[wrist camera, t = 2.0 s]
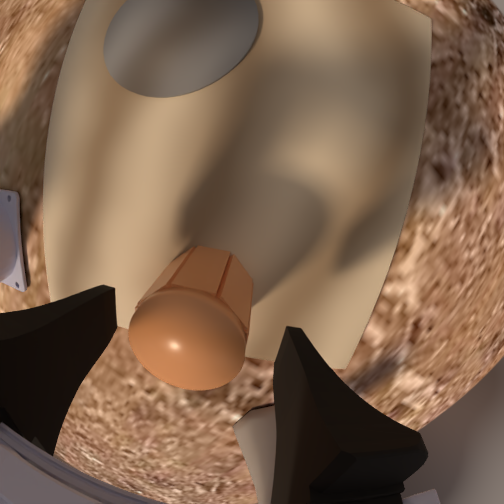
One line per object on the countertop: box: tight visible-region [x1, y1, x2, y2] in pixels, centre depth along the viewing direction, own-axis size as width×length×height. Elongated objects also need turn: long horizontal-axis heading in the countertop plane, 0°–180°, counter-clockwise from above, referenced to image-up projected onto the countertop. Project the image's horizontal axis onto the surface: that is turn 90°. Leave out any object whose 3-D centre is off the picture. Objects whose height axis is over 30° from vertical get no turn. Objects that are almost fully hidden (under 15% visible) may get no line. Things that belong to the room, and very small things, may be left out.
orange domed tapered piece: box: [129, 245, 253, 390], centre depth 12 cm, size 4×4×5 cm
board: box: [43, 0, 432, 369], centre depth 11 cm, size 20×22×6 cm
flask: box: [233, 406, 276, 504], centre depth 15 cm, size 7×7×10 cm
